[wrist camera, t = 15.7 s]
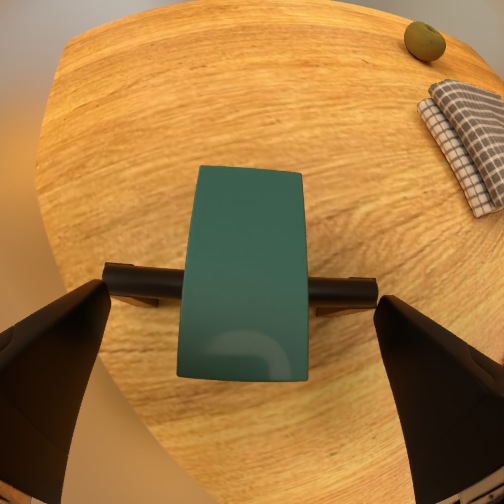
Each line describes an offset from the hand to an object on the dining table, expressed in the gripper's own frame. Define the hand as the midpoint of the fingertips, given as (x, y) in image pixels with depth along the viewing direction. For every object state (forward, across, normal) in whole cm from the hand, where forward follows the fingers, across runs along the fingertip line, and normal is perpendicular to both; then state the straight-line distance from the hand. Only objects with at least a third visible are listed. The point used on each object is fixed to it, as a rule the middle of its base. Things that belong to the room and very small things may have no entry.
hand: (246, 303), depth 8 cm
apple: (+37, -29, -24) cm, 52 cm away
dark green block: (+7, 0, +6) cm, 9 cm away
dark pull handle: (+7, 0, +6) cm, 9 cm away
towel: (+20, -29, -7) cm, 36 cm away
